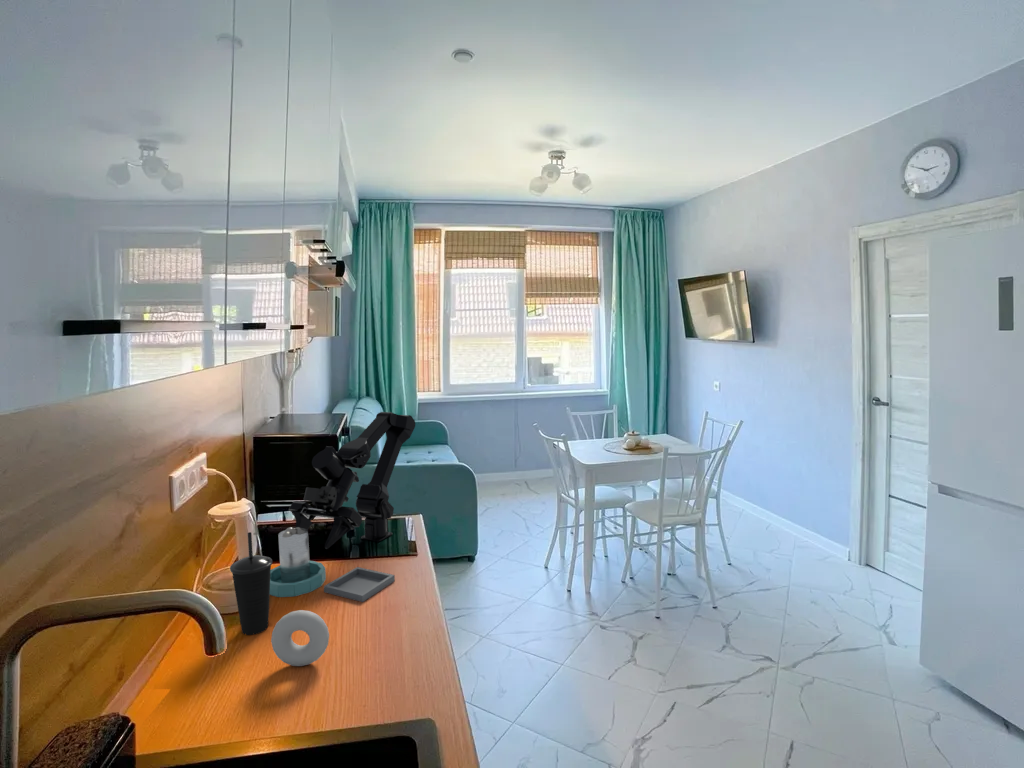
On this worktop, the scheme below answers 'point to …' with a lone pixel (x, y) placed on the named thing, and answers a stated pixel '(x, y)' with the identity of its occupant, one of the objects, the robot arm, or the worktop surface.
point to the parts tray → (359, 584)
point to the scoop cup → (294, 555)
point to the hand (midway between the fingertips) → (310, 545)
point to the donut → (292, 651)
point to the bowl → (298, 587)
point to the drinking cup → (252, 590)
